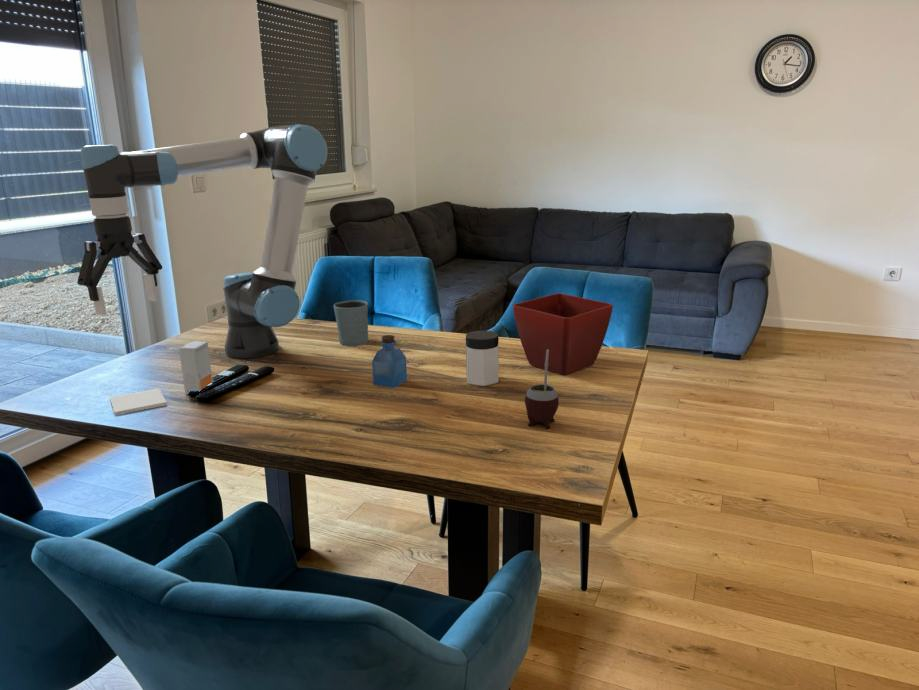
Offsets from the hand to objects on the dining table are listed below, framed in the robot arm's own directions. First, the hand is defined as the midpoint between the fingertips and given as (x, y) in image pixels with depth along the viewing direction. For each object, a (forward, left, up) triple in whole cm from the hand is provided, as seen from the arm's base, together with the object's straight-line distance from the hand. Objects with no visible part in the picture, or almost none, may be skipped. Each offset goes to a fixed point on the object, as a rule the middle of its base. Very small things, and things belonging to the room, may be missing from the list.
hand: (128, 307), depth 158 cm
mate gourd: (-70, +68, -22) cm, 100 cm away
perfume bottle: (-54, +27, -22) cm, 64 cm away
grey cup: (-60, -11, -22) cm, 65 cm away
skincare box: (-12, +6, -22) cm, 26 cm away
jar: (-74, +39, -22) cm, 87 cm away
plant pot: (-98, +41, -22) cm, 109 cm away
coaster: (+2, +6, -22) cm, 23 cm away
